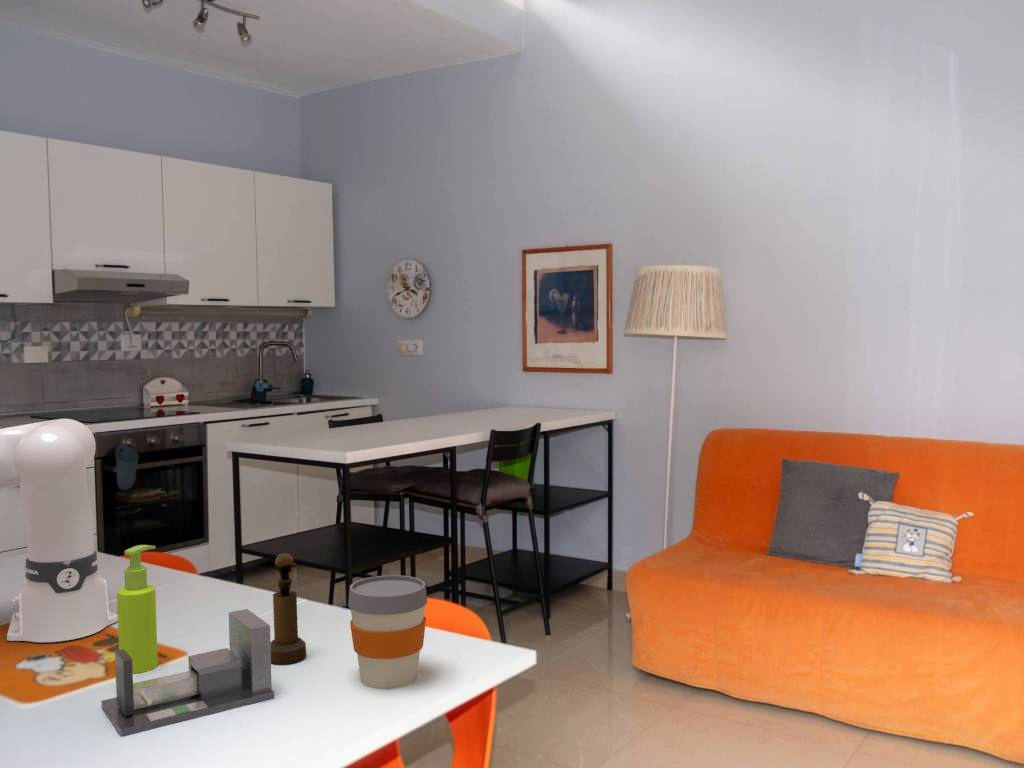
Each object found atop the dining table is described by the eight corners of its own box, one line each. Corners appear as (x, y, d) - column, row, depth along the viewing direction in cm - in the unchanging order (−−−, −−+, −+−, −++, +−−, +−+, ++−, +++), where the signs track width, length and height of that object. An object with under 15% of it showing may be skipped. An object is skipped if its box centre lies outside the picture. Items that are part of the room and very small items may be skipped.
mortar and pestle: (270, 651, 160) (268, 549, 159) (308, 650, 161) (306, 548, 160) (263, 665, 154) (261, 559, 152) (303, 664, 154) (300, 558, 153)
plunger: (116, 704, 135) (115, 650, 135) (194, 686, 142) (192, 635, 141) (130, 723, 129) (128, 667, 128) (211, 704, 135) (209, 650, 135)
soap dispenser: (169, 660, 156) (165, 544, 155) (140, 675, 150) (136, 553, 148) (141, 656, 158) (137, 541, 157) (111, 671, 152) (107, 551, 150)
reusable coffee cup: (394, 699, 140) (393, 601, 139) (332, 682, 146) (331, 589, 145) (443, 672, 150) (442, 581, 149) (384, 657, 157) (382, 571, 156)
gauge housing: (101, 707, 137) (99, 634, 137) (246, 673, 150) (245, 607, 149) (120, 736, 128) (118, 658, 127) (274, 698, 140) (272, 627, 140)
